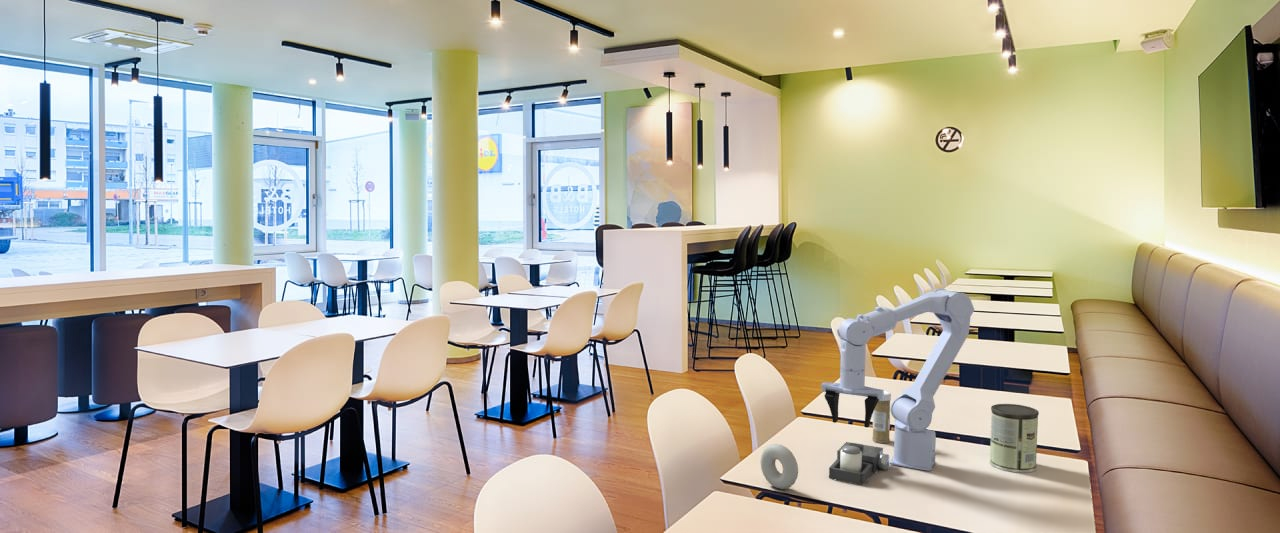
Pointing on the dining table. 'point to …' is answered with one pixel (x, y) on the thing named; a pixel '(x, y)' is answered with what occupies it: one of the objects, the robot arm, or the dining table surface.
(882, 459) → the drawer
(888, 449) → the dining table surface
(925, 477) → the dining table surface
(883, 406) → the sprinkles bottle
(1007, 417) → the coffee can
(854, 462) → the white gray cylinder
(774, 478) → the donut
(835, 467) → the dark grey square tray
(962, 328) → the robot arm
